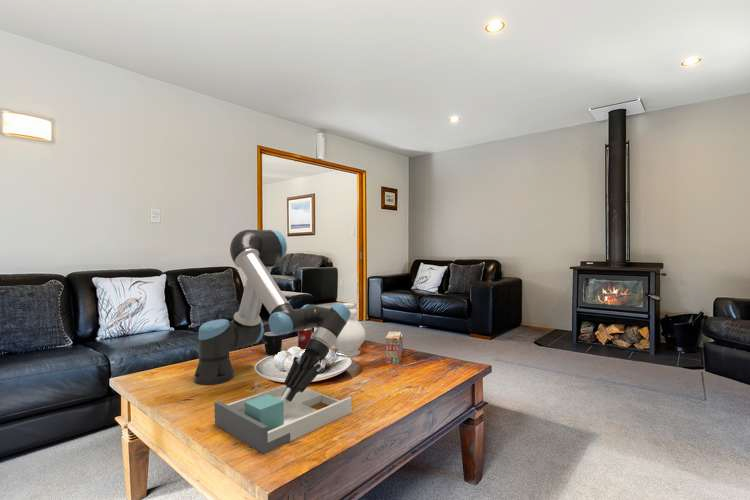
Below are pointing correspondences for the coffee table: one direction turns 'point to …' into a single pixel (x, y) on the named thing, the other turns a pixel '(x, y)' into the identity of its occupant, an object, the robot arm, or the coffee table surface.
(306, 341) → the soda can
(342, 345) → the decorative vase
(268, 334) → the mug
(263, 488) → the coffee table surface
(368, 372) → the coffee table surface
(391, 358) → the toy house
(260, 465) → the coffee table surface
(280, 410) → the block
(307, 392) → the tray
